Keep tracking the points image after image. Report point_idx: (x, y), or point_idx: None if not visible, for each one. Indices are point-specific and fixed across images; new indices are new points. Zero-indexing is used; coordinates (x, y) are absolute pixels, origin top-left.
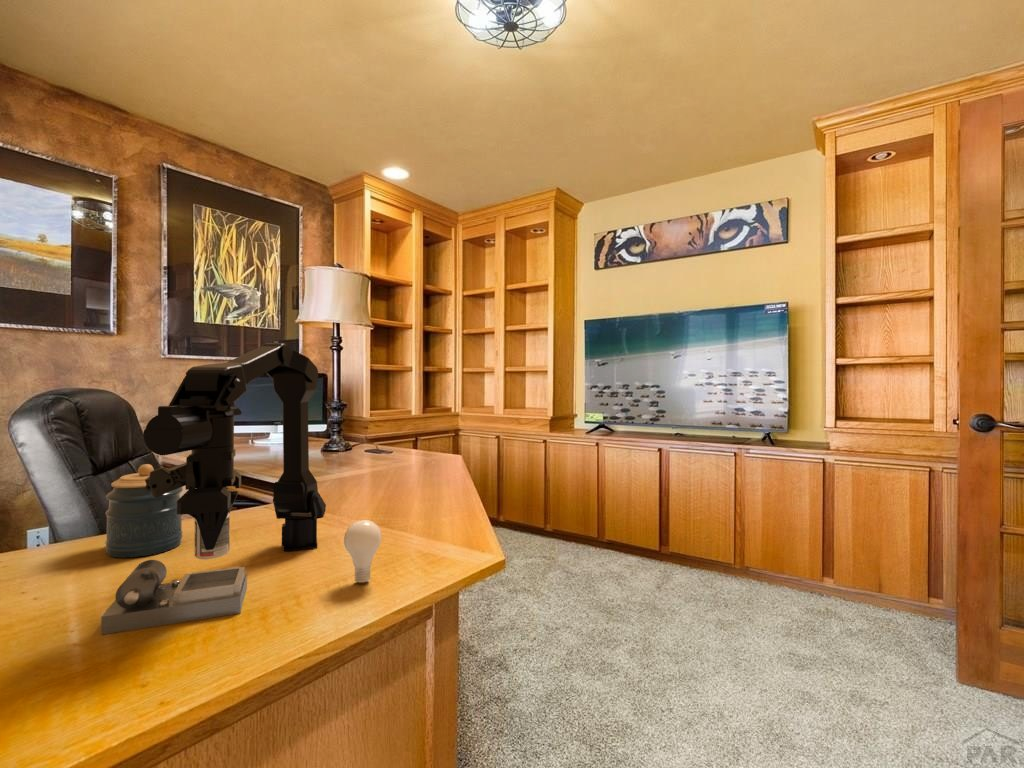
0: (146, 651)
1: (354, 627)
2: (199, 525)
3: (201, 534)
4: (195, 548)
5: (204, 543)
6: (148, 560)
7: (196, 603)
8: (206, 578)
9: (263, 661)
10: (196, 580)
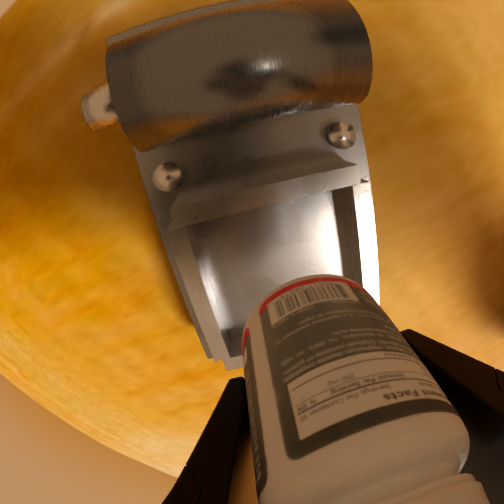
0: (43, 212)
1: (155, 467)
2: (168, 501)
3: (194, 448)
4: (277, 316)
5: (218, 404)
6: (361, 32)
7: (172, 268)
8: (350, 228)
9: (53, 398)
10: (345, 199)
